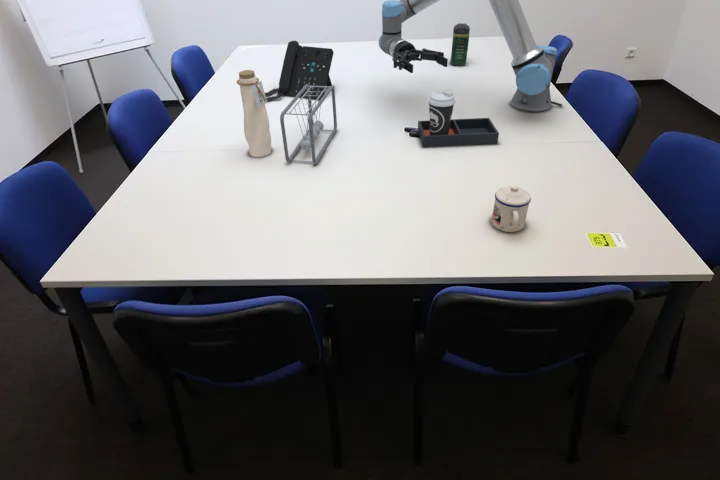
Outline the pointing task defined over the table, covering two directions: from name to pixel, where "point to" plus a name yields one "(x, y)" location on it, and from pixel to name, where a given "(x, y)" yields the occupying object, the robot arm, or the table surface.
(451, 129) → the divided storage tray
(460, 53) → the green shampoo bottle
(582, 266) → the table surface
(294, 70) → the office phone
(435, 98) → the coffee cup
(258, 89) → the water bottle
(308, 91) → the newton's cradle
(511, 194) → the teacup with lid
